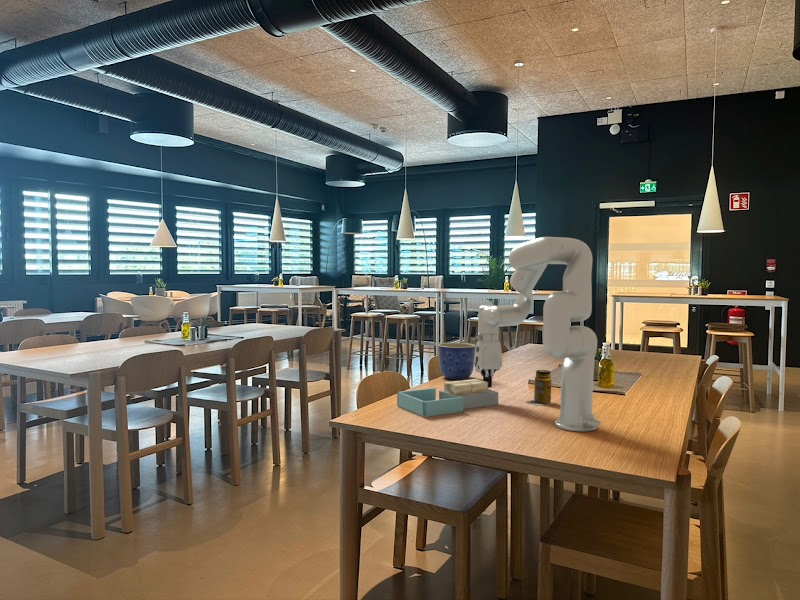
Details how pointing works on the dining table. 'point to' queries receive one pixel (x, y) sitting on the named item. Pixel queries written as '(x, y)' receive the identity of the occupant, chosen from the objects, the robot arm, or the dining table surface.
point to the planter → (456, 360)
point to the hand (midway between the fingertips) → (487, 386)
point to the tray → (428, 403)
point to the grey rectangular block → (474, 398)
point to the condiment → (542, 388)
